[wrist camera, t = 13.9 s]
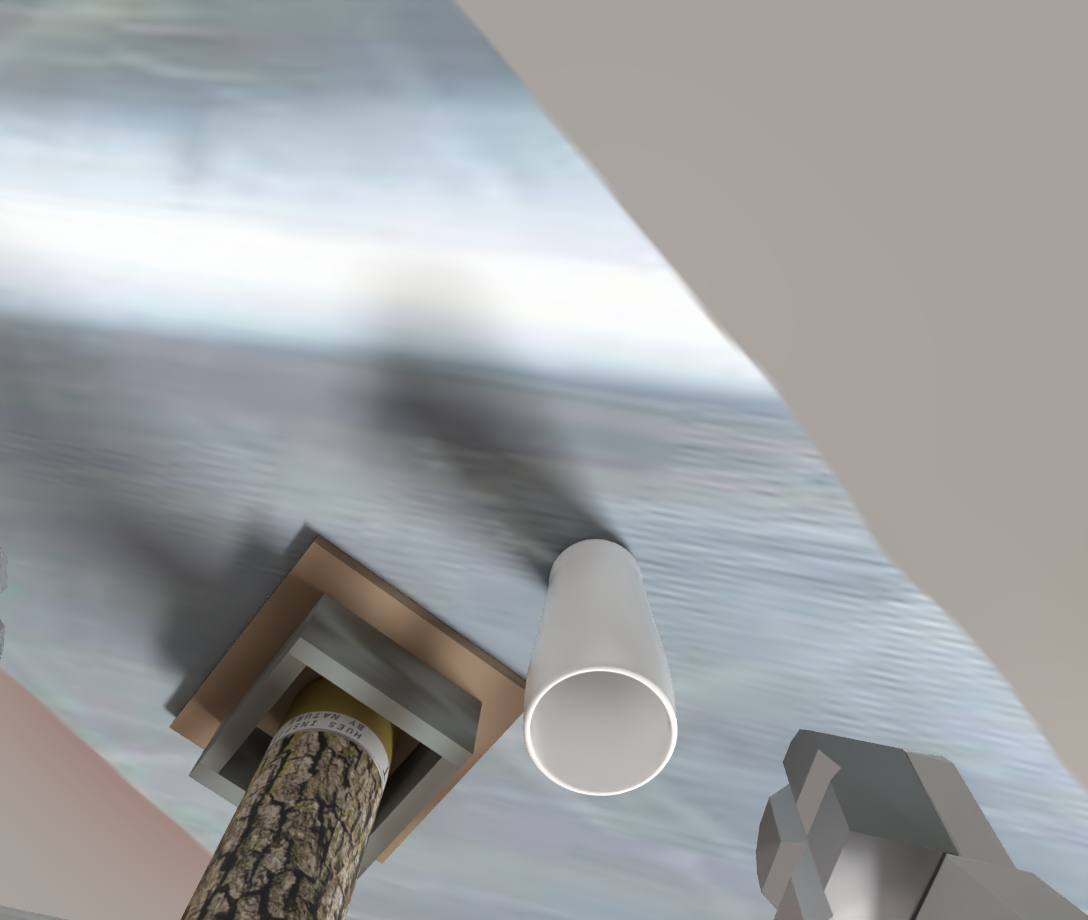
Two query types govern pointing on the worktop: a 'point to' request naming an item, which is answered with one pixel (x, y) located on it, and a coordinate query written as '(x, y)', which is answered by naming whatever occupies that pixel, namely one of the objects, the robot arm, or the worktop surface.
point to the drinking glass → (598, 676)
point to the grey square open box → (353, 688)
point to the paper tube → (302, 815)
